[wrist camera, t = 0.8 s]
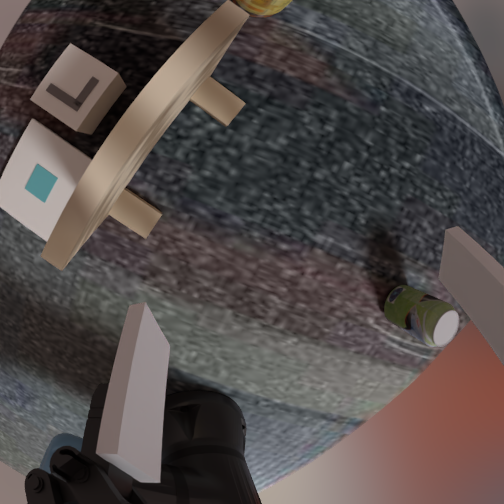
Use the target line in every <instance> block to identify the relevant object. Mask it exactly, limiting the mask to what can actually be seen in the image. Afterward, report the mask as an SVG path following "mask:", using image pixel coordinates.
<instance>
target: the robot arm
mask: <svg viewBox="0 0 504 504" xmlns="http://www.w3.org/2000/svg"><path fill="white" fill-rule="evenodd" d="M438 279H439V280H440V281H441V282H442V284H443V285H444V286H445V287H446V288H447V290H448V291H449V292H450V293H451V295H452V296H453V297H454V298H455V300H456V301H457V302H458V303H459V305H460V306H461V307H462V308H463V310H464V311H465V312H466V314H467V315H468V316H469V318H470V319H471V320H472V322H473V323H474V324H475V326H476V327H477V328H478V329H479V331H480V332H481V334H482V335H483V336H484V338H485V339H486V341H487V342H488V343H489V345H490V346H491V348H492V349H493V350H494V352H495V353H496V355H497V356H498V358H499V359H500V361H501V362H502V364H503V365H504V268H503V267H502V266H501V265H500V264H499V263H498V262H497V261H496V260H495V259H494V258H493V257H492V256H491V255H490V254H488V253H487V252H486V251H485V250H484V249H483V248H482V247H481V246H480V245H479V244H478V243H477V242H475V241H474V240H473V239H472V238H471V237H470V236H469V235H467V234H466V233H465V232H464V231H463V230H462V229H461V228H459V227H458V226H457V227H454V228H450V229H446V230H445V239H444V246H443V253H442V260H441V266H440V272H439V278H438ZM169 352H170V345H169V343H168V341H167V340H166V338H165V336H164V334H163V333H162V331H161V329H160V327H159V326H158V324H157V322H156V320H155V318H154V317H153V315H152V313H151V311H150V309H149V307H148V306H147V304H146V302H144V303H139V304H134V305H130V306H129V309H128V312H127V316H126V319H125V323H124V327H123V330H122V334H121V338H120V341H119V345H118V349H117V353H116V357H115V361H114V365H113V369H112V373H111V378H110V382H109V383H107V384H99V386H98V388H97V389H96V391H95V392H94V394H93V396H92V400H91V405H90V410H89V413H88V420H87V422H86V427H85V432H84V437H83V438H80V437H77V436H74V435H72V434H68V433H62V434H58V435H57V436H55V437H54V438H53V439H52V441H51V442H50V444H49V446H48V448H47V450H46V452H45V455H44V457H43V460H42V462H41V464H40V467H39V468H36V469H33V470H31V471H30V472H29V473H28V475H27V476H26V479H25V492H26V497H27V502H28V503H27V504H262V503H261V500H260V498H259V495H258V493H257V490H256V488H255V485H254V482H253V480H252V477H251V474H250V472H249V469H248V466H247V464H246V461H245V457H244V452H245V436H246V422H245V419H244V416H243V413H242V411H241V409H240V407H239V406H238V405H237V404H236V403H235V402H234V401H233V400H231V399H230V398H228V397H226V396H224V395H221V394H218V393H214V392H209V391H185V392H179V393H175V394H172V395H169V396H167V397H165V393H166V382H167V372H168V362H169Z"/></svg>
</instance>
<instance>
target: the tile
mask: <svg viewBox="0 0 504 504" xmlns="http://www.w3.org/2000/svg"><path fill="white" fill-rule="evenodd" d="M92 160H93V159H92V158H90V157H89V156H87V155H86V154H84V153H83V152H82V151H80V150H79V149H77V148H76V147H74V146H73V145H71V144H70V143H69V142H67V141H66V140H64V139H63V138H61V137H60V136H58V135H57V134H56V133H54V132H53V131H51V130H50V129H48V128H47V127H46V126H44V125H43V124H41V123H40V122H38V121H37V120H36V119H32V120H31V121H30V123H29V125H28V126H27V128H26V130H25V132H24V133H23V135H22V137H21V139H20V141H19V142H18V144H17V146H16V148H15V150H14V152H13V154H12V156H11V158H10V160H9V162H8V164H7V166H6V168H5V170H4V172H3V174H2V177H1V179H0V207H1V208H2V209H4V210H5V211H6V212H7V213H9V214H10V215H11V216H13V217H14V218H15V219H17V220H18V221H19V222H21V223H22V224H23V225H25V226H26V227H27V228H29V229H30V230H31V231H33V232H34V233H36V234H37V235H38V236H40V237H41V238H43V239H44V240H45V241H48V239H49V237H50V235H51V233H52V231H53V229H54V227H55V225H56V223H57V221H58V219H59V217H60V215H61V213H62V211H63V210H64V208H65V206H66V204H67V202H68V200H69V199H70V197H71V195H72V193H73V191H74V190H75V188H76V186H77V185H78V183H79V181H80V179H81V178H82V176H83V174H84V173H85V171H86V169H87V168H88V166H89V165H90V163H91V161H92Z"/></svg>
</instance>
